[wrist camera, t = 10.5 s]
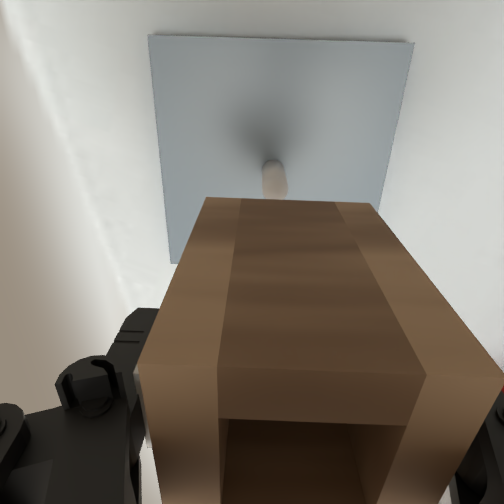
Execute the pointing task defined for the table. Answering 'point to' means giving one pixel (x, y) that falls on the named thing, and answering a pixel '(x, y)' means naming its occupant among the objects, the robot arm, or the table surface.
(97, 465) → the robot arm
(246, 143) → the pin plate
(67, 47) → the table surface
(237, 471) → the block
